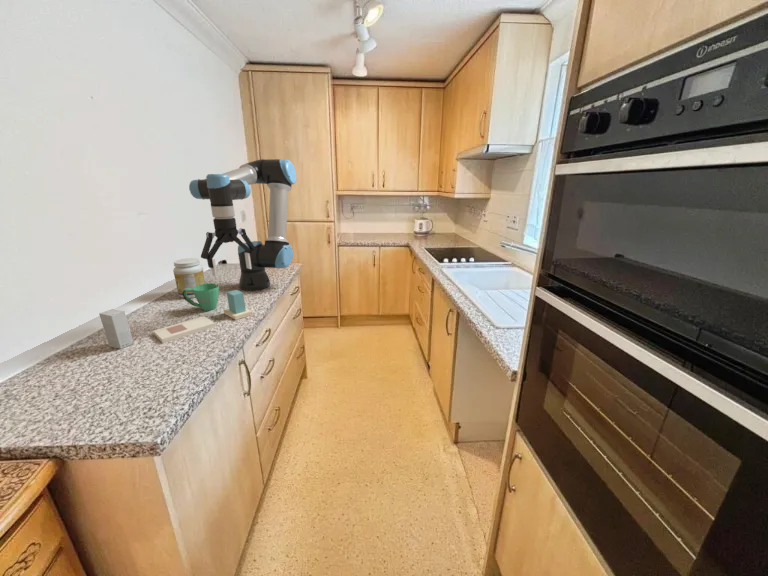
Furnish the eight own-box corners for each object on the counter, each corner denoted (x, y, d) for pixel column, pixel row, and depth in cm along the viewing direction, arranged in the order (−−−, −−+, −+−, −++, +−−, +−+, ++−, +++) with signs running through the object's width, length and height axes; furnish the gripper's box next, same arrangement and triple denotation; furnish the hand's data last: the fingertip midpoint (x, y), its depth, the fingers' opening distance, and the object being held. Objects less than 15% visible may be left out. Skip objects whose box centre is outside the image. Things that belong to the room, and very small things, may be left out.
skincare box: (134, 343, 107) (125, 311, 103) (120, 349, 103) (110, 316, 99) (122, 340, 109) (112, 308, 105) (108, 346, 105) (98, 313, 101)
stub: (240, 308, 136) (237, 287, 133) (252, 314, 130) (249, 293, 127) (224, 313, 131) (220, 291, 128) (235, 320, 125) (231, 297, 122)
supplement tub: (178, 293, 155) (171, 259, 149) (206, 289, 161) (200, 256, 156) (179, 300, 145) (171, 265, 140) (208, 295, 151) (202, 261, 146)
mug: (225, 304, 141) (222, 283, 138) (216, 313, 132) (212, 290, 129) (191, 305, 140) (187, 284, 137) (180, 314, 130) (175, 291, 127)
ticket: (206, 318, 126) (206, 315, 126) (217, 325, 120) (216, 322, 119) (153, 334, 113) (152, 330, 113) (163, 343, 107) (162, 339, 106)
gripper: (250, 214, 129) (257, 264, 136) (183, 219, 112) (195, 277, 118) (260, 215, 125) (266, 267, 132) (191, 221, 107) (203, 281, 114)
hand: (232, 271), depth 125 cm, fingers open, 13 cm apart
